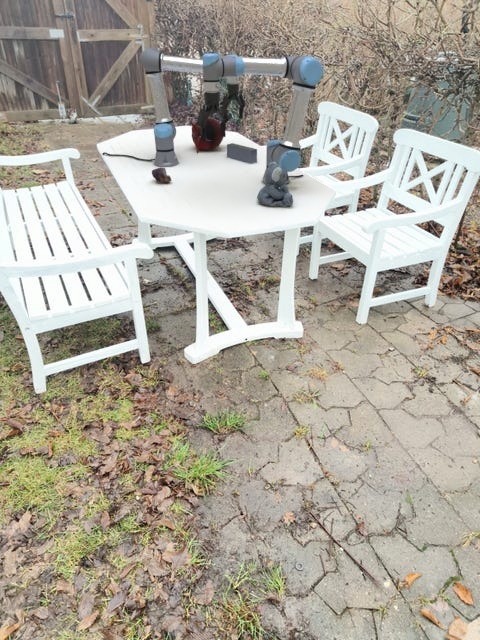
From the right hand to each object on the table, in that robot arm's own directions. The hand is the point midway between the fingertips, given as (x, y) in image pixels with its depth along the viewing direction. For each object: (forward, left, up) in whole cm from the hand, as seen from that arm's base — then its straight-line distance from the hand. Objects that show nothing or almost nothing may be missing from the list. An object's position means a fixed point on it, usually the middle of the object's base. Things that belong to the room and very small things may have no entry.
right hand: (213, 139), depth 224 cm
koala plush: (-22, +23, -30) cm, 44 cm away
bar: (-49, -57, -30) cm, 81 cm away
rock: (+16, -40, -30) cm, 52 cm away
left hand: (-47, -65, -6) cm, 80 cm away
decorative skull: (-42, -95, -30) cm, 108 cm away
